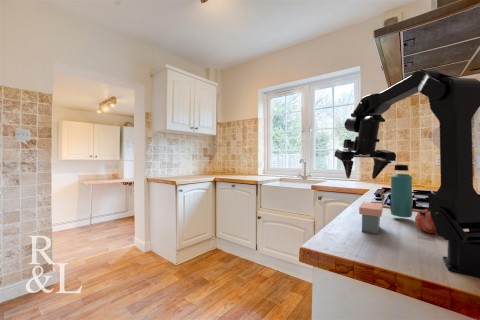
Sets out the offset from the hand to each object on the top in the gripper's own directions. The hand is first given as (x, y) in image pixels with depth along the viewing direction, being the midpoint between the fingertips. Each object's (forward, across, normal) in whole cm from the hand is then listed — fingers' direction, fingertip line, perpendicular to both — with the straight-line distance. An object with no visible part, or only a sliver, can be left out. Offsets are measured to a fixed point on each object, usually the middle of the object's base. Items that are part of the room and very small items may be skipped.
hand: (360, 178), depth 78 cm
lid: (+7, +2, +11) cm, 13 cm away
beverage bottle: (+15, -16, +2) cm, 22 cm away
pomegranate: (+12, -15, +15) cm, 24 cm away
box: (+13, +2, +12) cm, 18 cm away
